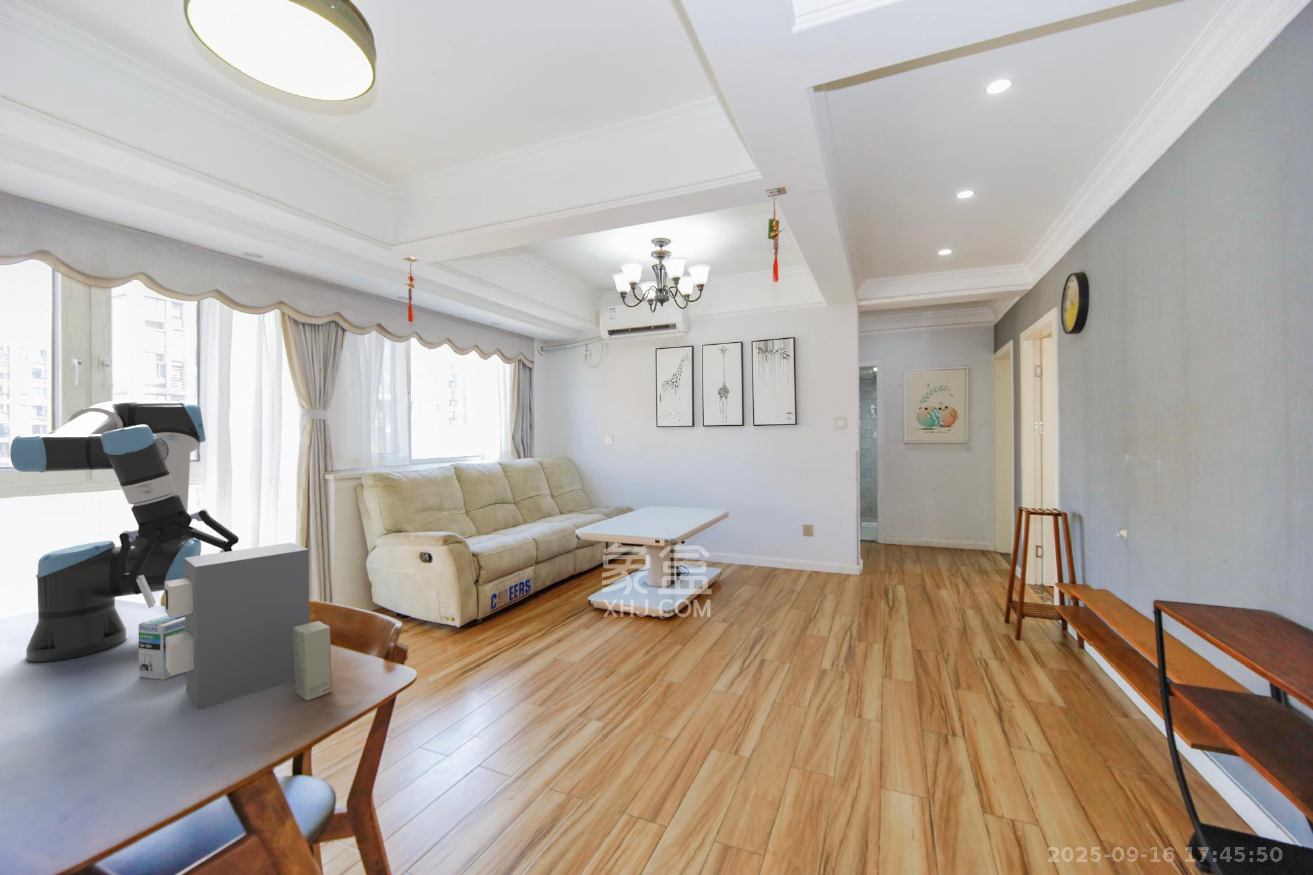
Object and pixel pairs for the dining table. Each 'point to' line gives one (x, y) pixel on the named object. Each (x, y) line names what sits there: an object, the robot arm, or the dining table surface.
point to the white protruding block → (179, 597)
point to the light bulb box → (157, 645)
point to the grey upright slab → (245, 620)
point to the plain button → (179, 653)
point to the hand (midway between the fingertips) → (194, 590)
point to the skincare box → (312, 659)
